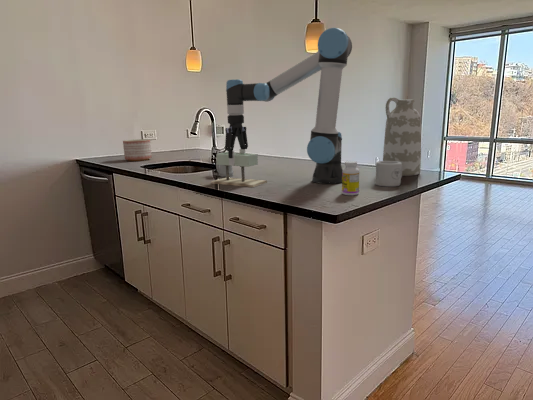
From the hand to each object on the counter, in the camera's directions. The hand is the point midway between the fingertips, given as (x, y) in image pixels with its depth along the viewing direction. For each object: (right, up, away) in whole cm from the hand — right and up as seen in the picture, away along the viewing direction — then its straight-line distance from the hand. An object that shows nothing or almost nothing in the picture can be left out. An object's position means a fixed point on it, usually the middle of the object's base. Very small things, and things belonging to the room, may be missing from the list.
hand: (237, 163), depth 185 cm
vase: (+83, -3, +17) cm, 84 cm away
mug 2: (+69, -10, -11) cm, 70 cm away
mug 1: (-9, -4, +26) cm, 28 cm away
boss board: (+1, -9, +2) cm, 9 cm away
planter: (-82, +13, +109) cm, 137 cm away
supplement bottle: (+47, -15, -29) cm, 57 cm away
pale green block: (0, 0, 0) cm, 0 cm away
